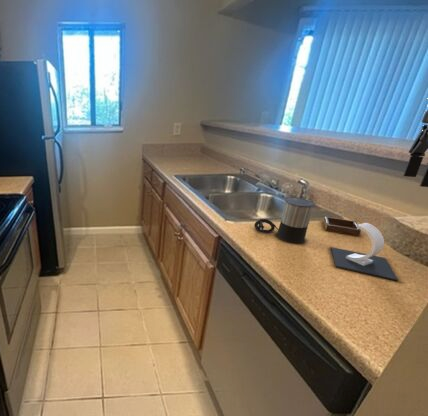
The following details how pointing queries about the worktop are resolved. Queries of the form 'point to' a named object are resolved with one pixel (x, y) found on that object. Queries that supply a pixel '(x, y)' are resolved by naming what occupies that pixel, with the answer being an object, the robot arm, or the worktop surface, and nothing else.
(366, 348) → the worktop surface
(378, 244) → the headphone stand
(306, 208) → the milk frother
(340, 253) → the mat
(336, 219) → the tray
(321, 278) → the worktop surface
